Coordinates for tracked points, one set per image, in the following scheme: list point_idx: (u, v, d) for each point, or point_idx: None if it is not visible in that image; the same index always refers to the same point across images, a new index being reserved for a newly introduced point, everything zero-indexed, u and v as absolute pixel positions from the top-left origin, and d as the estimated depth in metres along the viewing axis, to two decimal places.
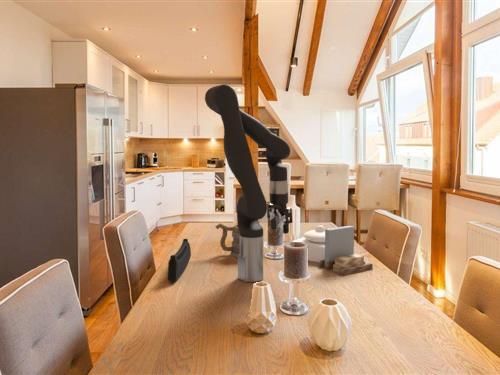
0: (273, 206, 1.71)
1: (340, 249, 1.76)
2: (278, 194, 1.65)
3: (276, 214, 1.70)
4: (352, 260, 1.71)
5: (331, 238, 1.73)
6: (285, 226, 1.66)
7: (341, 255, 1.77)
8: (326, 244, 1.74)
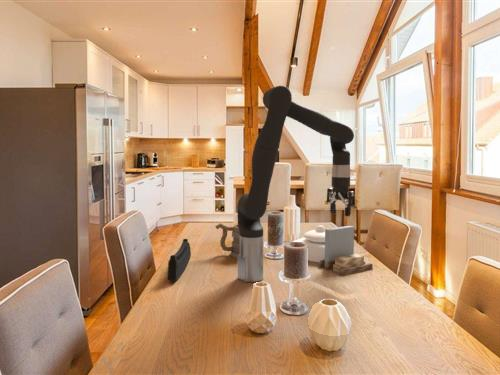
0: (334, 190, 1.76)
1: (340, 249, 1.76)
2: (341, 177, 1.70)
3: (337, 197, 1.75)
4: (352, 260, 1.71)
5: (331, 238, 1.73)
6: (347, 209, 1.71)
7: (341, 255, 1.77)
8: (326, 244, 1.74)
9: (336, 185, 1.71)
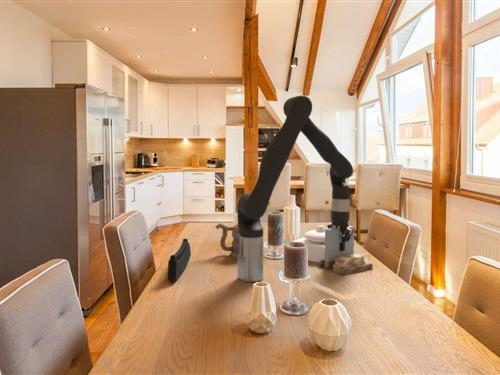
0: (334, 223, 1.78)
1: None
2: (341, 212, 1.72)
3: None
4: (352, 260, 1.71)
5: (331, 238, 1.73)
6: (342, 244, 1.75)
7: (341, 255, 1.77)
8: (326, 244, 1.74)
9: (335, 219, 1.73)
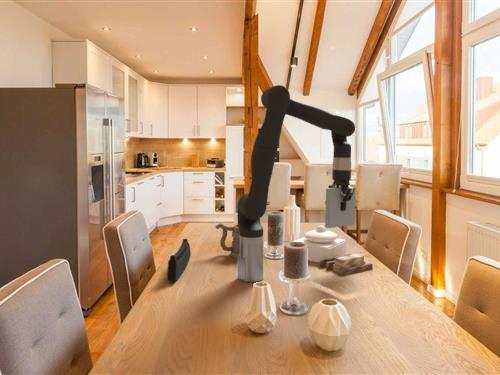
0: (335, 183, 1.76)
1: None
2: (342, 170, 1.70)
3: None
4: (352, 260, 1.71)
5: (332, 197, 1.71)
6: (343, 203, 1.73)
7: (342, 216, 1.75)
8: (327, 203, 1.72)
9: (337, 178, 1.71)
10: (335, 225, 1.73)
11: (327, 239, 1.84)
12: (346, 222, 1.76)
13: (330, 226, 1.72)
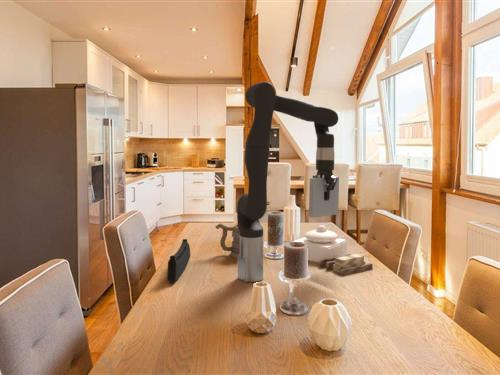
0: (318, 173, 1.78)
1: None
2: (325, 160, 1.72)
3: None
4: (352, 260, 1.71)
5: (315, 186, 1.73)
6: (326, 193, 1.75)
7: (325, 205, 1.77)
8: (310, 193, 1.74)
9: (320, 168, 1.73)
10: (319, 214, 1.75)
11: (327, 239, 1.84)
12: (330, 211, 1.78)
13: (314, 215, 1.74)
